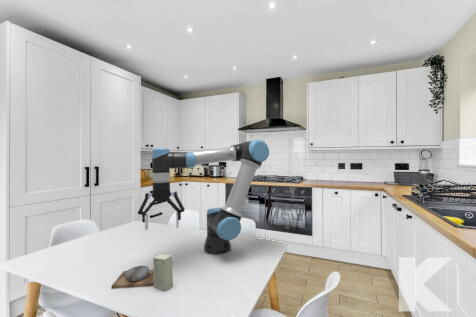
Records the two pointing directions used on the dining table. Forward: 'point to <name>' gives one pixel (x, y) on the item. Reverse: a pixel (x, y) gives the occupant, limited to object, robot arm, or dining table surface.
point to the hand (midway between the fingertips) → (162, 228)
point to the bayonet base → (137, 284)
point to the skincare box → (163, 271)
